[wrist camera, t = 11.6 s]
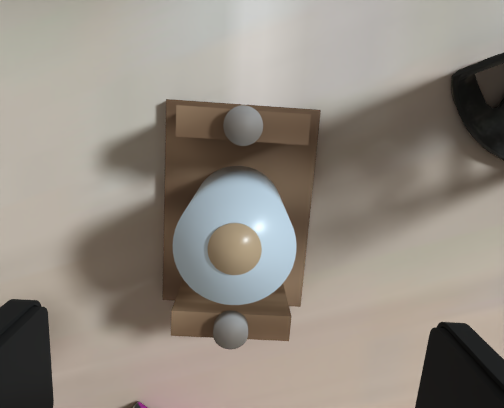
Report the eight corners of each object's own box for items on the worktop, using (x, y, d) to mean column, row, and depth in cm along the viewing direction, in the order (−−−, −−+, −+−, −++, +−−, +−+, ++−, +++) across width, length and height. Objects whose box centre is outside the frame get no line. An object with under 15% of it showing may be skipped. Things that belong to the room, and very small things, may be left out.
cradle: (168, 99, 26) (143, 94, 19) (318, 110, 26) (344, 108, 19) (164, 294, 29) (141, 348, 22) (298, 301, 29) (315, 356, 22)
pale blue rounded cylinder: (195, 163, 26) (173, 184, 18) (284, 168, 26) (302, 192, 18) (192, 248, 27) (170, 304, 19) (278, 252, 27) (291, 309, 19)
